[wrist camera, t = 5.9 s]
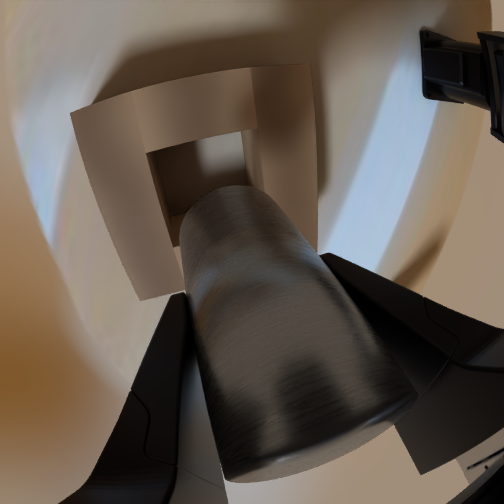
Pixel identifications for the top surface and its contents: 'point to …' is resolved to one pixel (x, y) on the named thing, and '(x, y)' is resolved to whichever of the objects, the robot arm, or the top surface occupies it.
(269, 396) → the grey metal cylinder
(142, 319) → the top surface
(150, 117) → the socket block
